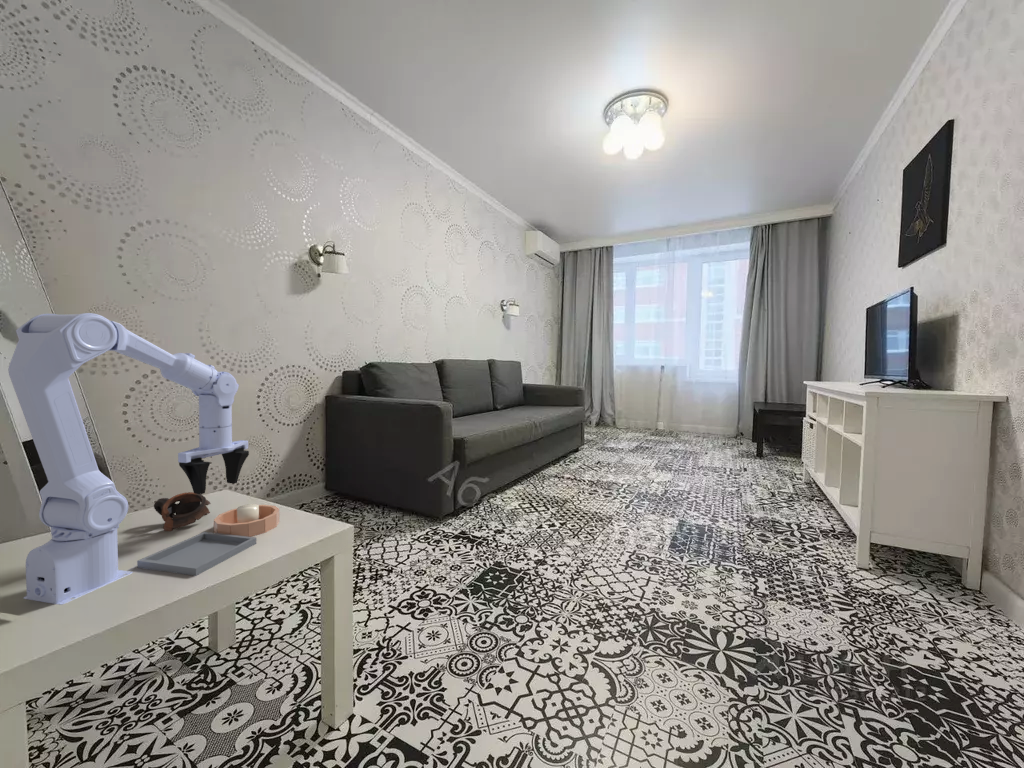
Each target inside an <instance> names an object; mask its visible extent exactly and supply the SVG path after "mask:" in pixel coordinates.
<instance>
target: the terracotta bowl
mask: <svg viewBox="0 0 1024 768" xmlns="http://www.w3.org/2000/svg"><path fill="white" fill-rule="evenodd" d="M258 505H259V520H255V521H251V522H245V523H237V508H238V507H237V508H233V509H230V510H227V511H224V512H222V513H220V514H218V515H217V516H216V517H215V518H214V519H213V533H221V534H229V535H238V536H247V537H255V536H258V535H262V534H265V533H267V532H270V531H271V530H274V529H275V528H277V527H278V525H279V523H280V522H281V521H280V508H279V507H278V506H275V505H269V504H258Z"/></svg>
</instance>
